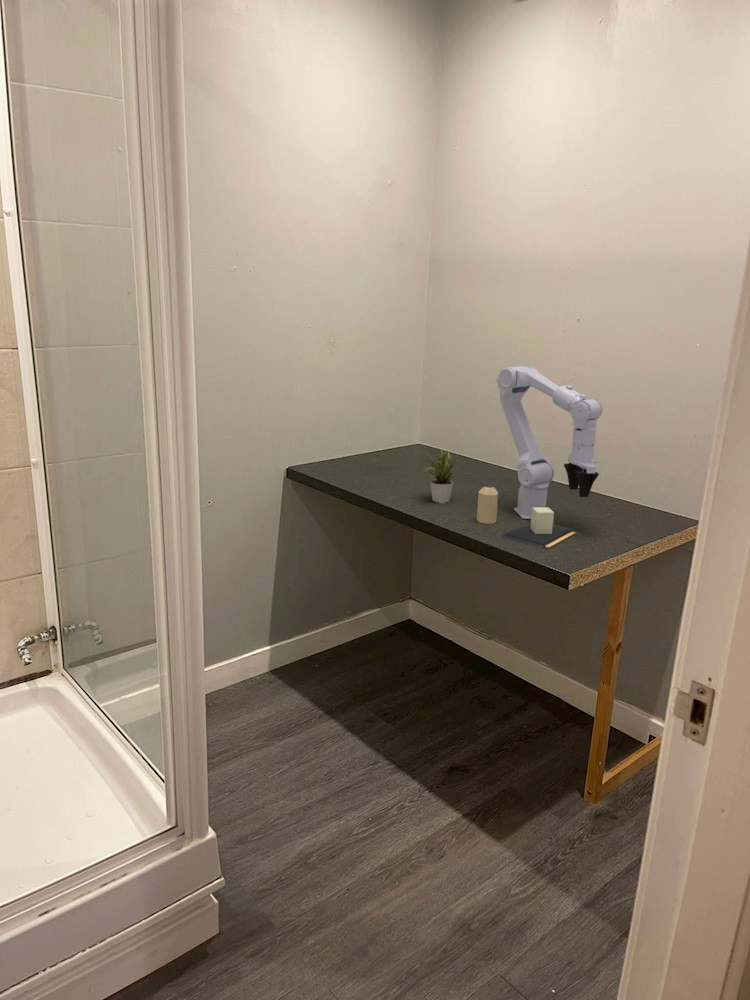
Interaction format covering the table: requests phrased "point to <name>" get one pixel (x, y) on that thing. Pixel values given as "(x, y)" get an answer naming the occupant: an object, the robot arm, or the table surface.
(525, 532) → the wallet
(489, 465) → the table surface
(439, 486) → the house plant
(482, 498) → the candle
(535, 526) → the block
